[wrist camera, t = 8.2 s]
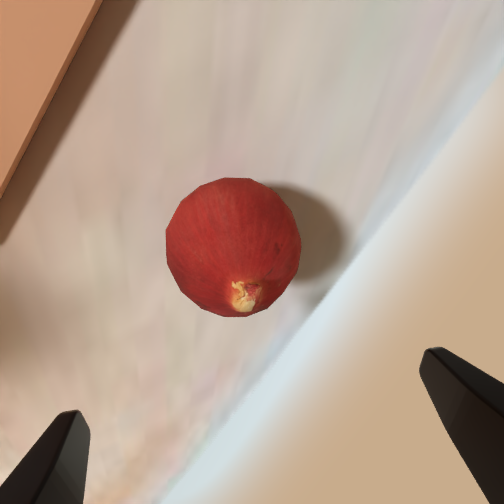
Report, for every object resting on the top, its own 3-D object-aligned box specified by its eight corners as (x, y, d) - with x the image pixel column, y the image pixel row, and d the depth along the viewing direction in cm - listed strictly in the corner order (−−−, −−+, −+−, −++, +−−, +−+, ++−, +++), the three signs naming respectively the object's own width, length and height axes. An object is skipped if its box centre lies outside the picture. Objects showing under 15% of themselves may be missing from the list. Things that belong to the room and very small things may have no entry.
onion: (289, 238, 19) (343, 341, 13) (194, 270, 20) (199, 389, 13) (262, 140, 16) (315, 207, 10) (150, 179, 16) (124, 272, 10)
